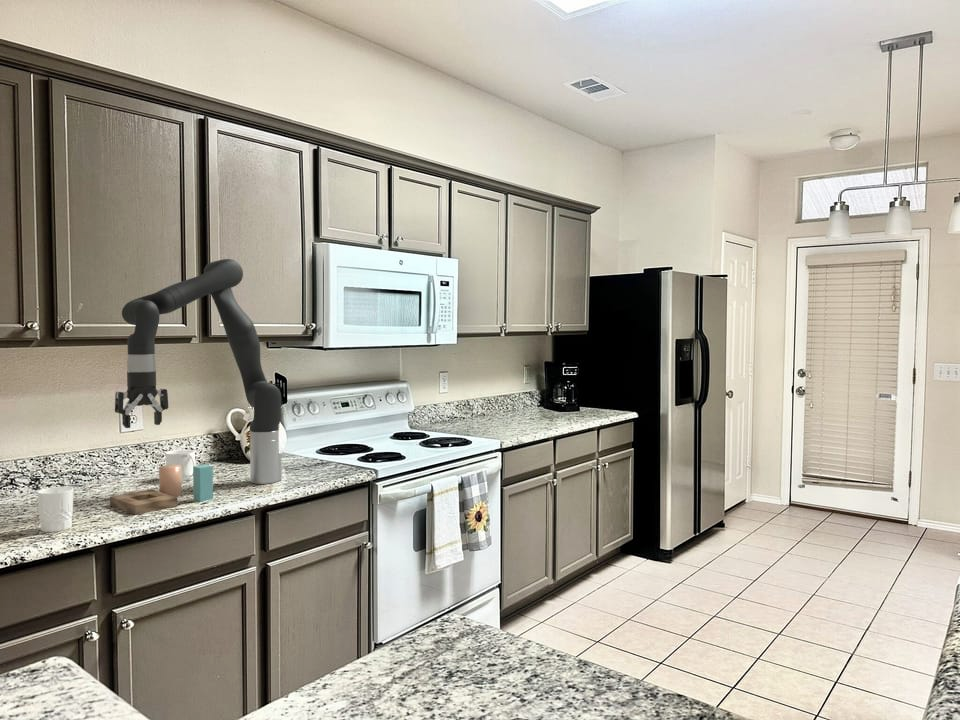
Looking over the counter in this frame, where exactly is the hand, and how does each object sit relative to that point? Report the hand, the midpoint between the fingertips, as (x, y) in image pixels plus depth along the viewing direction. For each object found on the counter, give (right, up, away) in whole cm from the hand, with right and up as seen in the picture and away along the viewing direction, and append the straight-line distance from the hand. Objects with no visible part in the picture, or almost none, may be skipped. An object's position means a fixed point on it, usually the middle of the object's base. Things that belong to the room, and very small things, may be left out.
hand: (142, 426), depth 199 cm
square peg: (+14, -23, +9) cm, 28 cm away
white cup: (-11, -24, -22) cm, 35 cm away
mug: (-4, -22, +36) cm, 42 cm away
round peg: (+2, -23, +13) cm, 26 cm away
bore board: (0, -23, +1) cm, 23 cm away
